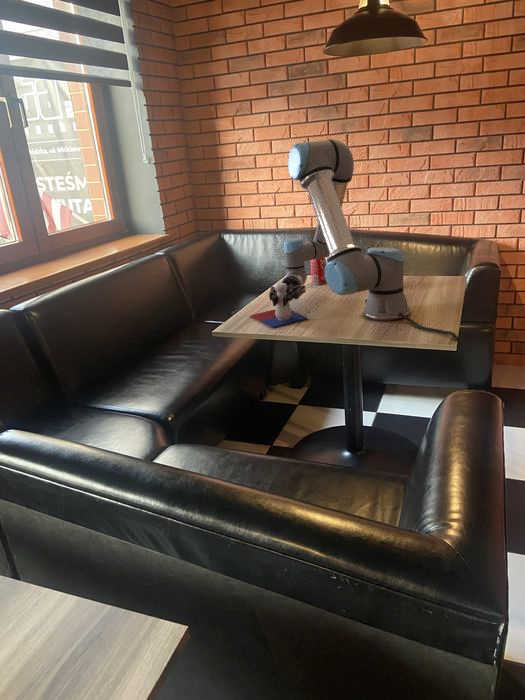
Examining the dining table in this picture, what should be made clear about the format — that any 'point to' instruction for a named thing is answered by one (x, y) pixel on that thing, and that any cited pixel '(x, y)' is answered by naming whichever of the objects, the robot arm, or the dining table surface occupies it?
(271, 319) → the sorting mat
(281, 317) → the salt shaker
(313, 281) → the soda can
